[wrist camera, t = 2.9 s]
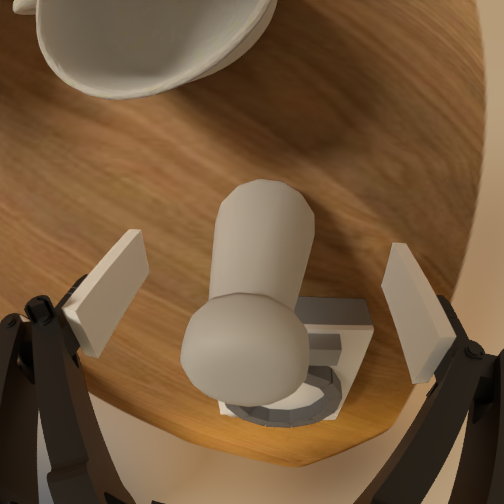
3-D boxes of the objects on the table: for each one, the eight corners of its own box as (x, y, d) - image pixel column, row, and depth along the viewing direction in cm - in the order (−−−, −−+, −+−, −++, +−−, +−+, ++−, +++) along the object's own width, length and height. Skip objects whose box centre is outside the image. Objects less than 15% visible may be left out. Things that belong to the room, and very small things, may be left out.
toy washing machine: (214, 291, 24) (200, 337, 19) (365, 298, 23) (378, 345, 18) (225, 387, 31) (218, 425, 27) (333, 393, 30) (336, 431, 26)
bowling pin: (319, 175, 18) (365, 334, 7) (304, 253, 21) (312, 430, 10) (225, 164, 18) (135, 304, 7) (221, 243, 21) (163, 409, 10)
